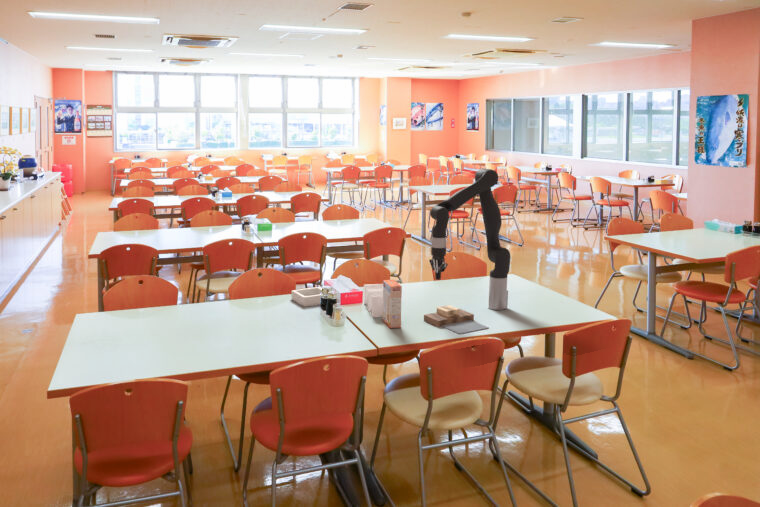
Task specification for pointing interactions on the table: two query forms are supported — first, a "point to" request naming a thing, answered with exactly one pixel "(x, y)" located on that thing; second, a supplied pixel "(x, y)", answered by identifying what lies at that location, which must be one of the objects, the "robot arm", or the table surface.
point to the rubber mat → (465, 327)
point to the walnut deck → (448, 318)
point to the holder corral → (307, 296)
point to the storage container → (374, 299)
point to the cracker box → (392, 303)
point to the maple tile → (447, 311)
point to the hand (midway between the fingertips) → (437, 279)
